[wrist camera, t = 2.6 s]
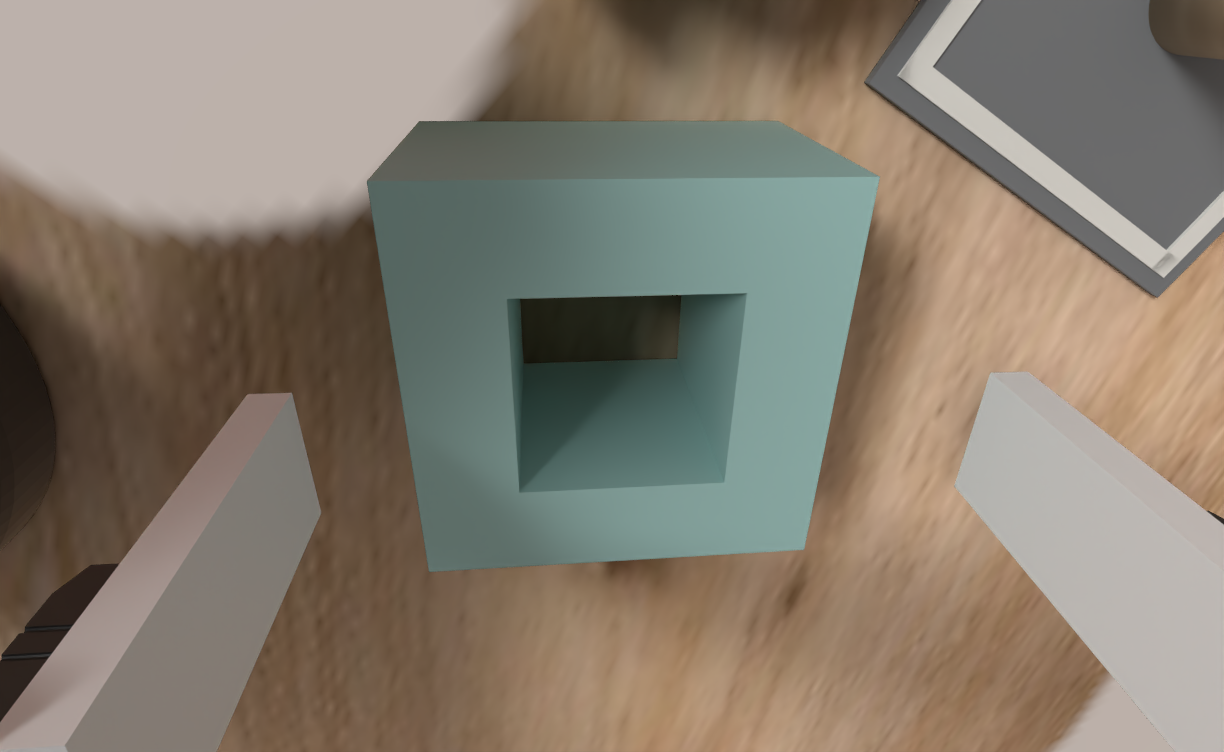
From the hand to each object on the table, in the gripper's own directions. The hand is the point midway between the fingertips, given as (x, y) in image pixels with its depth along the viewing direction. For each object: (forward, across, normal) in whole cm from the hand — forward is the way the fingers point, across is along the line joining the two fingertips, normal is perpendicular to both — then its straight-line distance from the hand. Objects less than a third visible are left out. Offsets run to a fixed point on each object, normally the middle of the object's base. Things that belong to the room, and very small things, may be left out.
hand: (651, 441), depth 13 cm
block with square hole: (+7, 0, 0) cm, 7 cm away
